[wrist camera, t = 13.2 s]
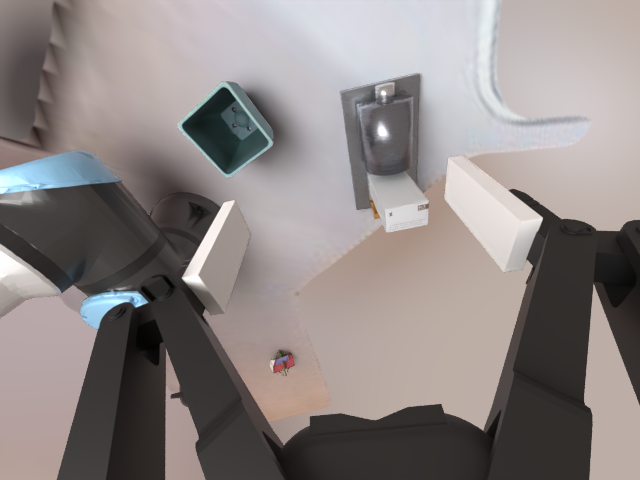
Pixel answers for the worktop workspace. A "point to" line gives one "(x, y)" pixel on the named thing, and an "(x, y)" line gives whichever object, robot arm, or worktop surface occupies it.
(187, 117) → the flower pot
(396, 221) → the skincare box
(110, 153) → the worktop surface
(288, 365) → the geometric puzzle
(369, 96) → the motor
